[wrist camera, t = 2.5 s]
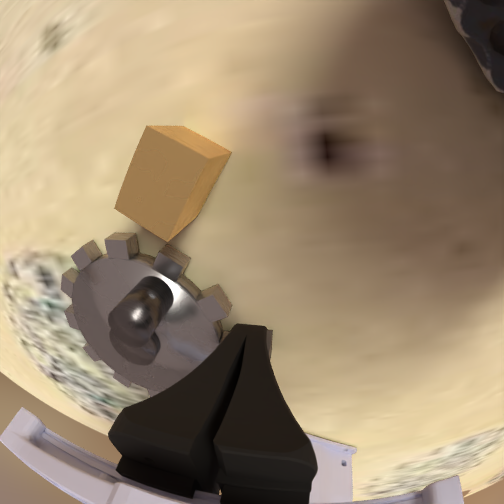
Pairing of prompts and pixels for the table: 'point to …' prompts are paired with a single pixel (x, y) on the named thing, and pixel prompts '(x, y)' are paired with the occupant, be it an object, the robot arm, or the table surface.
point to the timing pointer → (269, 341)
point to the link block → (170, 179)
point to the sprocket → (143, 312)
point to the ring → (482, 34)
